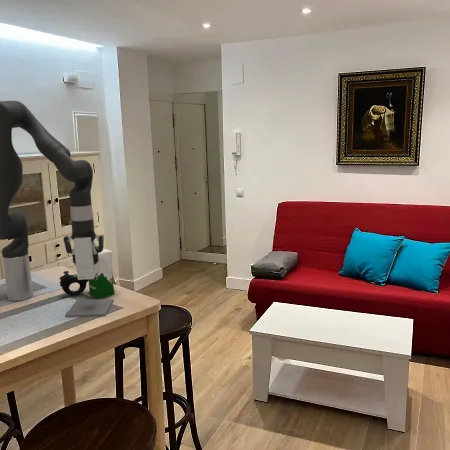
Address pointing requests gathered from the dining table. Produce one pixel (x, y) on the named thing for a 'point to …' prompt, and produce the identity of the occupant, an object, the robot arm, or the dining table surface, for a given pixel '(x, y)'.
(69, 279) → the controller
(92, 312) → the mat
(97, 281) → the milk carton
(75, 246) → the skincare box
